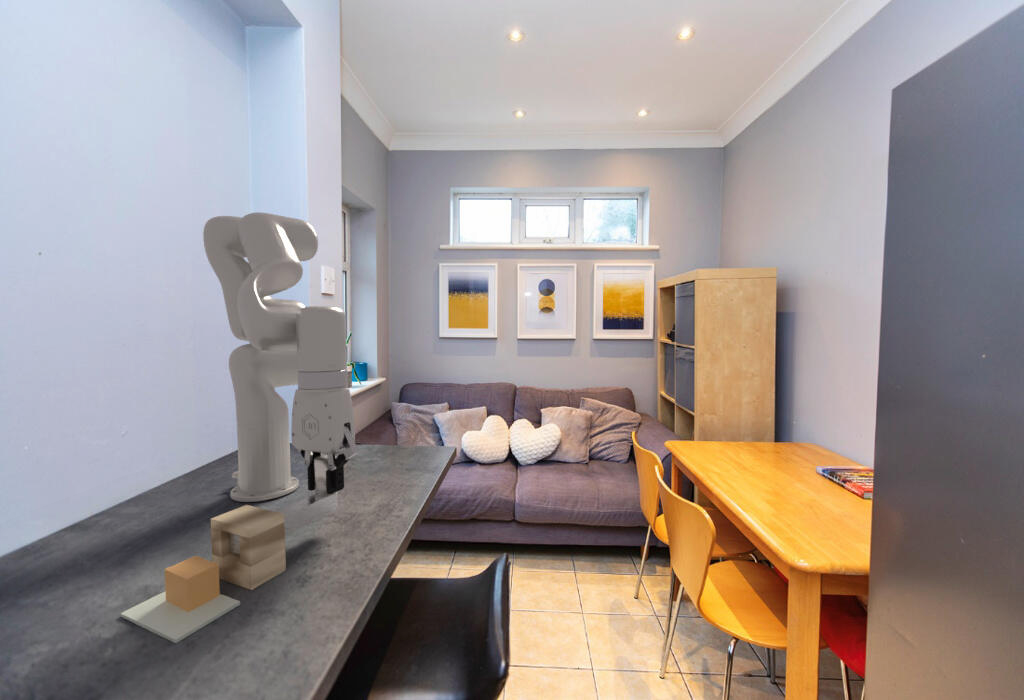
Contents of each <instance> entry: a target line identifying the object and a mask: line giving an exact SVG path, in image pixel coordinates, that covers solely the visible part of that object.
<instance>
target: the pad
mask: <svg viewBox="0 0 1024 700" xmlns="http://www.w3.org/2000/svg"><path fill="white" fill-rule="evenodd" d="M240 605H241V601H240V600H237V599H235V598H232V597H230V596H227V595H224V594H221V593H220V596H218V597H216V598H214V599H212V600H210V601H208V602H206V603H205V604H203V605H201V606H199V607H197V608H195V609H193V610H191V611H190V612H187V611H185V610H183V609H181V608H179V607H177V606H175V605H173V604H172V603H170V602H168V601H166V592H165V591H163V592H161V593H158V594H157V595H154V596H153V597H151V598H149V599H147V600H145V601H143V602H140V603H138V604H137V605H134V606H132V607H130V608H129V609H126V610H124V611H123V612H120V617H121V618H123V619H125V620H127V621H129V622H131V623H133V624H135V625H137V626H139V627H141V628H143V629H145V630H147V631H149V632H151V633H153V634H155V635H157V636H160V637H161V638H163V639H166V640H168V641H170V642H172V643H174V644H177V643H180V642H181V641H182V640H184V639H186V638H188V637H189V636H191V635H192V634H194V633H196V632H197V631H199V630H200V629H203V628H204V627H205V626H207V625H209V624H210V623H212V622H214V621H215V620H217V619H219V618H221V617H222V616H224V615H225V614H227V613H229V612H231V611H232V610H234V609H235V608H237V607H238V606H239V607H240Z"/></svg>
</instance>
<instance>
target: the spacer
mask: <svg viewBox="0 0 1024 700" xmlns="http://www.w3.org/2000/svg"><path fill="white" fill-rule="evenodd" d="M164 586H165V587H164V592H166V601H168V602H170V603H172V604H173V605H175V606H177V607H179V608H181V609H183V610H185V611H187V612H190V611H191V610H193V609H195V608H197V607H199V606H201V605H203V604H205V603H206V602H208V601H210V600H212V599H214V598H216V597H218V596H220V594H221V593H220V579H219V564H216V563H214V562H212V560H209V559H205V558H203V557H200V556H198V555H194V556H192V557H189V558H187V559H185V560H182V561H179V562H178V563H176V564H174V565H171V566H169V567H166V568H164Z"/></svg>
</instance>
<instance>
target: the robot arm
mask: <svg viewBox="0 0 1024 700" xmlns="http://www.w3.org/2000/svg"><path fill="white" fill-rule="evenodd" d="M202 235H203V236H202V239H203V247H204V251H205V255H206V257H207V260H208V263H209V265H210V267H211V268H212V270H213V272H214V274H215V275H216V277H217V279H218V281H219V284H220V285H221V290H222V293H223V294H222V295H223V300H224V305H225V309H226V314H227V320H228V324H229V328H230V331H231V332H232V335H233V336H234V337H235V338H236V339H237V340H240V341H244V342H248V343H246V344H242V345H239V346H238V347H236V348H235V349H233V350H232V352H231V353H230V354H229V357H228V368H229V374H230V378H231V383H232V387H233V393H234V401H235V412H236V414H235V416H236V419H235V420H236V433H237V437H236V438H237V459H238V460H237V463H238V470H236V471H234V472H232V474H231V477H232V478H233V479H236V480H237V485H236V486H234V487H233V488H232V489H231V490H230V494H229V496H230V499H231V500H233V501H235V502H240V503H253V502H263V501H264V502H265V501H270V500H273V499H277V498H280V497H284V496H286V495H288V494H291V493H292V492H294V491H296V490H297V489H298V487H299V486H300V481H299V478H297V477H295V476H292V474H291V472H292V471H291V445H292V446H293V447H294V449H296V450H297V451H298V452H299V453H300V455H301V456H302V458H303V460H304V461H303V464H304V465H305V467H307V468H306V469H307V490H308V491H311V492H312V491H315V474H314V458H316V457H318V456H323V455H324V454H326V455H327V458H328V465H329V470H326V490H327V494H333V493H335V492H339V491H342V490H344V489H345V467H346V466H347V463H348V462H349V460H350V459H351V458H353V457H354V456H356V455H358V453H359V448H358V447H357V444H356V427H355V426H356V425H355V424H356V423H355V413H354V406H353V401H352V396H351V395H352V394H351V391H350V389H349V387H348V354H347V351H348V350H347V320H346V314H345V311H344V310H343V309H342V308H339V307H336V306H322V305H321V306H319V305H318V306H317V305H316V306H315V305H314V306H306V305H305V304H304V303H303V302H300V301H297V300H294V299H283V298H280V299H279V298H273V297H271V296H273V295H275V294H278V293H281V292H284V291H287V290H290V289H291V288H293V287H294V286H296V285H298V283H299V282H300V281H301V279H302V278H303V275H304V269H303V265H302V263H301V262H307V261H309V260H311V259H313V258H314V257H315V256H316V254H317V252H318V249H319V238H318V235H317V232H316V230H315V228H314V227H313V226H312V224H310V223H309V222H308V221H305V220H303V219H300V218H295V217H290V216H282V215H279V214H273V213H266V212H259V211H258V212H250V213H248V214H245V215H244V216H243V217H242V216H241V217H240V216H234V215H233V216H230V215H221V216H220V215H219V216H214V217H211V218H210V219H208V220H207V221H206V223H205V224H204V226H203V233H202ZM245 258H246V259H247V260H246V259H245ZM286 386H287V387H288V386H297V389H296V390H295V392H294V396H293V402H292V407H291V408H292V409H291V429H290V415H289V414H290V413H289V407H288V403H287V402H286V400H285V399H284V398H283V397H282V396H281V395H280V394H279V393H278V392H277V391H276V388H280V387H286ZM290 430H291V432H290ZM290 435H291V436H290ZM290 437H291V442H290ZM290 443H291V445H290ZM336 454H337V456H336ZM335 456H336V458H335Z"/></svg>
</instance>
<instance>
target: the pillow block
mask: <svg viewBox="0 0 1024 700" xmlns="http://www.w3.org/2000/svg"><path fill="white" fill-rule="evenodd" d="M275 511H276V510H270V509H266V508H263V507H262V508H261V507H256V506H252V505H248V504H245V505H242V506H240V507H236V508H235V509H232V510H229V511H227V512H225V513H221V514H219V515H216V516H214V517H211V518H210V534H211V535H210V537H211V538H210V539H211V556H212V557H211V559H212V560H211V562H214V563H216V564H219V580H222V581H225V582H229V583H231V584H232V585H237V586H239V587H242V588H245V589H247V590H251V591H253V590H255V589H256V588H258V587H259V586H261V585H263V584H264V583H266V582H268V581H270V580H271V579H273V578H275V577H277V576H278V575H280V574H282V573H283V572H285V571H286V570H287V563H286V560H287V559H286V558H287V557H286V536H285V526H284V514H283V513H279V512H275ZM230 533H233V534H236V535H239V545H240V555H239V554H236V553H233V552H231V544H230Z"/></svg>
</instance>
